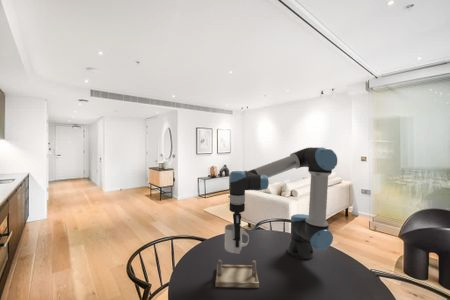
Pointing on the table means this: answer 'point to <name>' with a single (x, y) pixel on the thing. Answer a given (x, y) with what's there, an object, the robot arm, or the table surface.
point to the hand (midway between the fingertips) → (236, 248)
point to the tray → (237, 275)
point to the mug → (231, 235)
